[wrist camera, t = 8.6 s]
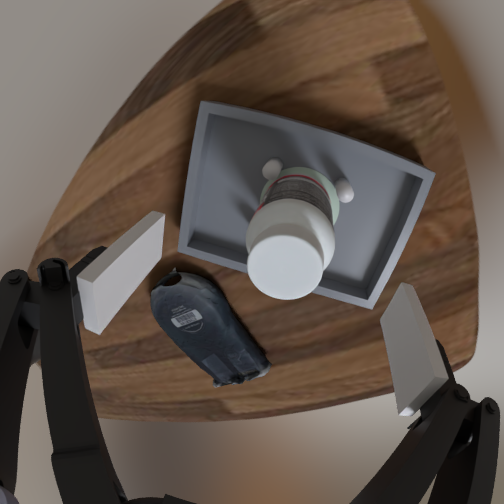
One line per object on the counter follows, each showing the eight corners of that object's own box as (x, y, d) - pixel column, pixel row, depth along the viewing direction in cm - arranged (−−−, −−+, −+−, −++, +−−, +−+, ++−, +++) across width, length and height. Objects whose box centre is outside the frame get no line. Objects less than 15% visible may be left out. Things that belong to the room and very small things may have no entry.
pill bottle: (258, 175, 23) (223, 225, 15) (327, 168, 22) (335, 216, 14) (269, 237, 26) (244, 312, 17) (333, 233, 24) (339, 309, 16)
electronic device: (281, 343, 35) (198, 255, 29) (272, 383, 31) (175, 297, 25) (223, 354, 40) (144, 282, 34) (212, 389, 36) (122, 317, 29)
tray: (188, 238, 29) (173, 256, 26) (211, 100, 22) (196, 101, 19) (368, 292, 28) (373, 315, 24) (424, 165, 21) (439, 176, 18)
